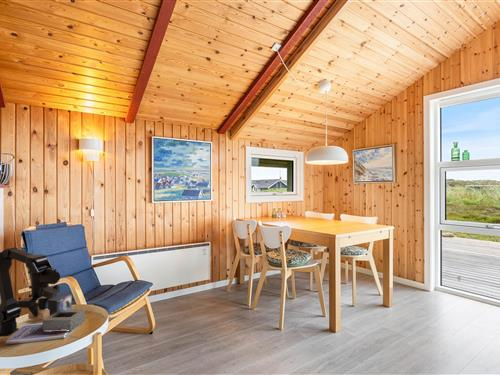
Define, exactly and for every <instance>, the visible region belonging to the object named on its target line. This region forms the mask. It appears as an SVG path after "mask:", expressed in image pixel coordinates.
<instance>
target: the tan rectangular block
mask: <svg viewBox="0 0 500 375" xmlns="http://www.w3.org/2000/svg"><path fill="white" fill-rule="evenodd" d="M27 314H28V319H30V320H33V319H34V320H44V319H46V318H47V317H49V316H50V311H49V310H48V309H45V310H42V309H39V308H38V314H37V317H34V316H33V314H32V313H31V311H30V310H29V311H28V313H27Z"/></svg>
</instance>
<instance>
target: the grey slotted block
mask: <svg viewBox="0 0 500 375" xmlns="http://www.w3.org/2000/svg"><path fill="white" fill-rule="evenodd" d="M85 314H86V310H85V309H72V310H58V311H57V312H55V313H54V314H52V315H50V316H49V317H47V318H45V319H42V331H43V330H61V329H67V330H69V332H68V333H71V332H72V331H73V330H75V329H76V328H78V327H79V326H80V325H82V323H85V321H86V317H85V316H86V315H85Z"/></svg>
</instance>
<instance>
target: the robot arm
mask: <svg viewBox="0 0 500 375" xmlns="http://www.w3.org/2000/svg"><path fill="white" fill-rule="evenodd" d="M13 260H16V261H18V262H20V263H23V264H25V267H26V268H27V269H29V270H28V271H27V274H29V275H30V285H29V286H28V289H31V290H30V291H31V292H30V294H28V297H27V298H23V299H21V300H17V299H16V298H15V295H14V290H13V284H12V278H11V274H10V269H11V267H12V265H13ZM52 264H53V263H52V262H50V260H49V258H48V256H46V255H45V254H44V255H43V254H33V253H29V252H27V251H25V250H21V249H19V248H18V247H9V248H5V249H3V250H2V251H1V252H0V301H1V302H0V336H1V337H2V336H10V335H12V334H14V333H15V332H17V331H18V330H19V328H18V326H17V319H19V318H20V316H21V312H22V309H24V308H25V309H28V310H29V312H30V311H31V313H32V314H33V316H34V317H37V314H38V309H42V310H46V306H48V300H49V299H52V298H53V297H56V296H58V293H60V292H61V290H60V289H61V287H60V285H59V284H57V283H58V282H60V279H61V275H60V272H58V271H57V269H56V268H54V267H53V265H52ZM50 285H54V286H50Z"/></svg>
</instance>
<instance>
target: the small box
mask: <svg viewBox="0 0 500 375" xmlns="http://www.w3.org/2000/svg"><path fill="white" fill-rule="evenodd" d="M72 297H73V296H72V293H65V292H64V293H60V294H59V295H58V294H57V296H56V297H53V298H52V299H49V300H48V302H47V310H49V311H50V315H52V314H54V313H55V312H57V311H58V310H73V309H72V308H73V307H72V306H73V304H72V303H73V301H72V299H73V298H72Z"/></svg>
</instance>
